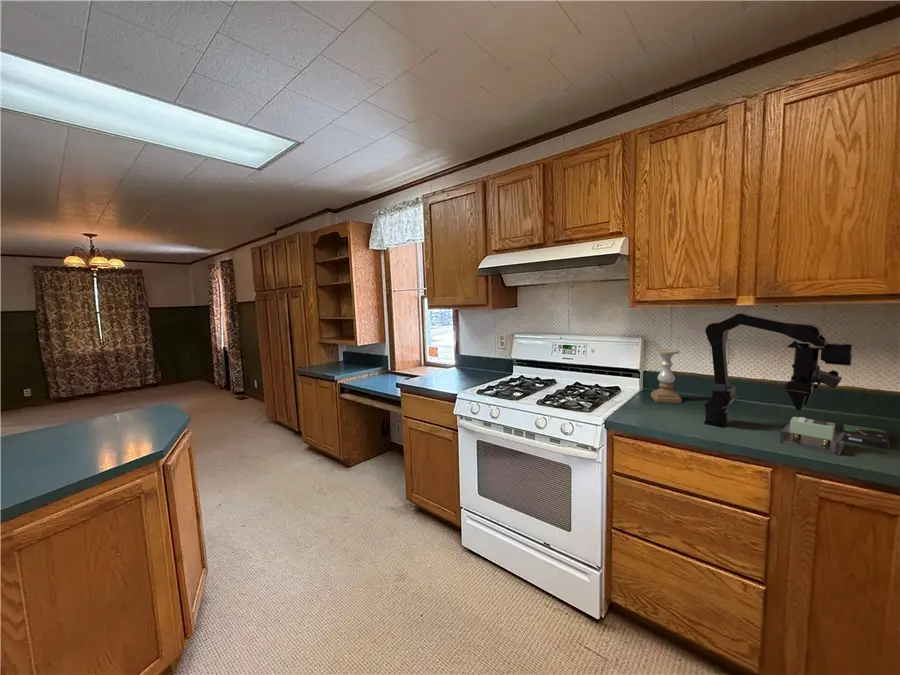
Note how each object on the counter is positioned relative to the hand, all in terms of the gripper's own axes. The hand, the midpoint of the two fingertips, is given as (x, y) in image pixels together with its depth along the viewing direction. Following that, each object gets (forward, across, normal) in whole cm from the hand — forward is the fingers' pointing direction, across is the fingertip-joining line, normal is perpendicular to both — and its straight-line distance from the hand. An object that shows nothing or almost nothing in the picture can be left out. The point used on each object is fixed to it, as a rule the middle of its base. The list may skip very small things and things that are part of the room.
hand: (801, 407), depth 124 cm
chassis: (+12, -1, -3) cm, 12 cm away
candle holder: (+13, +21, +51) cm, 57 cm away
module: (+8, -1, -3) cm, 9 cm away
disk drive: (+12, +17, -14) cm, 25 cm away
